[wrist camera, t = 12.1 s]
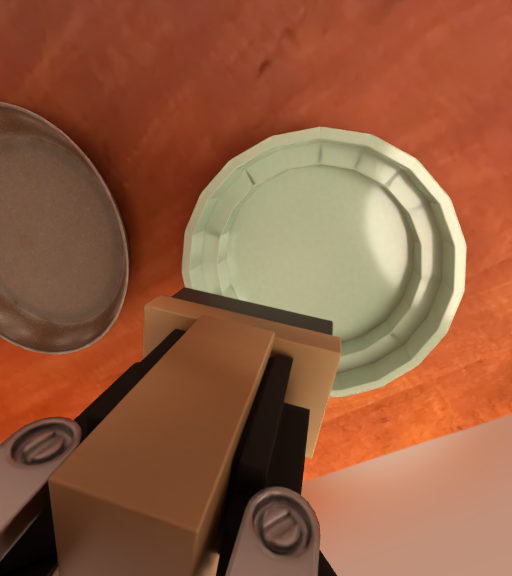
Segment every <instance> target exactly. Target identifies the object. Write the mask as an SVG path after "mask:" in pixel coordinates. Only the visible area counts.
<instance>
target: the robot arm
mask: <svg viewBox="0 0 512 576" xmlns="http://www.w3.org/2000/svg"><path fill="white" fill-rule="evenodd" d="M185 333H186V331H184V330H180V329H174V330H173V331H172V332H171V333H170V334H169V335H168V336H167V337H166V338H165V339H164V340H163V341H162V342H161V343H160V344H159V345H158V346H157V347H156V348H154V349H153V350H152V351H151V352H150V353H149V354H148V355H147V356H146V357H145V358H144V359H143V360H142V361H141V362H137V363H135V364H133V365H132V366H131V367H130V368H129V369H128V370H127V371H126V372H125V373H124V374H122V375H121V376H120V377H119V378H118V379H117V380H116V381H115V382H114V383H113V384H112V385H111V386H110V387H109V388H108V389H107V390H105V391H104V392H103V393H102V394H101V395H100V396H99V397H98V398H97V399H96V400H95V401H94V402H93V403H92V404H91V405H90V406H88V407H87V408H86V409H85V410H84V411H83V412H82V413H81V414H80V415H79V416H78V417H77V418H76V419H75V420H74V421H73V420H71V419H69V418H64V417H48V418H44V419H40V420H36V421H34V422H32V423H29V424H27V425H25V426H23V427H22V428H20V429H19V430H17V431H16V432H14V433H13V434H12V435H11V436H10V437H8V438H7V439H6V440H5V441H4V442H2V443H1V444H0V576H60V574H59V566H58V558H57V549H56V541H55V533H54V525H53V517H52V509H51V501H50V493H49V485H48V479H49V477H50V476H51V474H52V473H53V472H54V471H55V470H56V469H57V468H58V467H59V466H60V465H61V464H62V463H63V462H64V461H65V460H66V459H67V458H68V456H69V455H70V454H71V453H72V452H73V451H74V450H75V449H76V448H77V447H78V446H79V445H80V444H81V443H82V442H83V441H84V440H85V438H86V437H87V436H88V435H89V434H90V433H91V432H92V431H93V430H94V429H95V428H96V427H97V426H98V425H99V424H100V423H101V422H102V420H103V419H104V418H105V417H106V416H107V415H108V414H109V413H110V412H111V411H112V410H113V409H114V408H115V407H116V406H117V405H118V404H119V402H120V401H121V400H122V399H123V398H124V397H125V396H126V395H127V394H128V393H129V392H130V391H131V390H132V389H133V388H134V387H135V386H136V384H137V383H138V382H139V381H140V380H141V379H142V378H143V377H144V376H145V375H146V374H147V373H148V372H149V371H150V370H151V369H152V367H153V366H154V365H155V364H156V363H157V362H158V361H159V360H160V359H161V358H162V357H163V356H164V355H165V354H166V353H167V352H168V351H169V349H170V348H171V347H172V346H173V345H174V344H175V343H176V342H177V341H178V340H179V339H180V338H181V337H182V336H183V335H184V334H185ZM292 363H293V358H291V357H287V356H283V355H279V354H276V355H275V358H271V357H270V358H269V360H268V363H267V366H266V369H265V371H264V374H263V377H262V380H261V383H260V385H259V388H258V391H257V394H256V396H255V399H254V402H253V405H252V407H251V410H250V413H249V416H248V418H247V421H246V424H245V427H244V429H243V432H242V435H241V438H240V441H239V443H238V446H237V449H236V452H235V456H234V459H233V463H232V468H231V473H230V480H229V486H228V492H227V498H226V504H225V510H224V517H223V523H222V529H221V535H220V541H219V547H218V554H219V560H218V566H217V572H216V576H337V575H336V573H335V572H334V571H333V569H332V568H331V566H330V564H329V563H328V561H327V560H326V559H325V557H324V555H323V554H322V553H321V551H320V550H319V548H320V528H319V527H320V526H319V522H318V519H317V516H316V514H315V512H314V510H313V509H312V507H311V506H310V504H309V503H308V501H306V500H305V499H304V498H303V497H302V496H301V489H302V480H303V471H304V462H305V453H306V444H307V435H308V426H309V417H310V409H306V408H303V407H299V406H296V405H292V404H288V403H285V402H284V399H285V395H286V390H287V386H288V381H289V377H290V372H291V368H292Z"/></svg>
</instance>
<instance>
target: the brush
mask: <svg viewBox="0 0 512 576" xmlns="http://www.w3.org/2000/svg"><path fill="white" fill-rule="evenodd" d="M174 329H180V330H184V331H186V333H185V334H184V335H183V336H182V337H181V338H180V339H179V340H178V341H177V342H176V343H175V344H174V345H173V346H172V347H171V348H170V349H169V351H168V352H167V353H166V354H165V355H164V356H163V357H162V358H161V359H160V360H159V361H158V362H157V363H156V364H155V365H154V366H153V367H152V369H151V370H150V371H149V372H148V373H147V374H146V375H145V376H144V377H143V378H142V379H141V380H140V381H139V382H138V383H137V384H136V386H135V387H134V388H133V389H132V390H131V391H130V392H129V393H128V394H127V395H126V396H125V397H124V398H123V399H122V400H121V401H120V402H119V404H118V405H117V406H116V407H115V408H114V409H113V410H112V411H111V412H110V413H109V414H108V415H107V416H106V417H105V418H104V419H103V420H102V422H101V423H100V424H99V425H98V426H97V427H96V428H95V429H94V430H93V431H92V432H91V433H90V434H89V435H88V436H87V437H86V438H85V440H84V441H83V442H82V443H81V444H80V445H79V446H78V447H77V448H76V449H75V450H74V451H73V452H72V453H71V454H70V455H69V456H68V458H67V459H66V460H65V461H64V462H63V463H62V464H61V465H60V466H59V467H58V468H57V469H56V470H55V471H54V472H53V473H52V474H51V476H50V477H49V479H48V485H49V493H50V501H51V509H52V517H53V525H54V533H55V541H56V549H57V558H58V566H59V574H60V576H215V573H216V570H217V566H218V560H219V554H218V547H219V541H220V535H221V529H222V523H223V517H224V510H225V504H226V498H227V492H228V486H229V480H230V473H231V468H232V463H233V459H234V456H235V452H236V449H237V446H238V443H239V441H240V438H241V435H242V432H243V429H244V427H245V424H246V421H247V418H248V416H249V413H250V410H251V407H252V405H253V402H254V399H255V396H256V394H257V391H258V388H259V385H260V383H261V380H262V377H263V374H264V371H265V369H266V366H267V363H268V360H269V358H270V357H271V358H275V355H276V354H279V355H283V356H287V357H291V358H293V363H292V368H291V372H290V377H289V381H288V386H287V390H286V395H285V399H284V402H285V403H288V404H292V405H296V406H299V407H303V408H306V409H310V417H309V426H308V435H307V444H306V453H305V457H306V458H309V459H311V458H312V457H313V453H314V450H315V446H316V443H317V439H318V435H319V432H320V428H321V425H322V421H323V418H324V414H325V411H326V407H327V403H328V400H329V396H330V393H331V389H332V386H333V382H334V379H335V375H336V371H337V368H338V364H339V361H340V357H341V338H340V337H336V336H333V322H332V321H330V320H325V319H321V318H317V317H312V316H308V315H304V314H299V313H295V312H291V311H286V310H282V309H278V308H273V307H269V306H265V305H260V304H256V303H252V302H247V301H243V300H238V299H234V298H230V297H225V296H221V295H217V294H212V293H208V292H204V291H199V290H195V289H191V288H186V287H184V288H183V289H181V290H180V291H179V292H177V293H176V294H175V295H173V296H172V297H168V296H164V295H159V296H157V297H156V298H154V299H153V300H152V301H150V302H149V303H147V304H146V305H145V306H144V341H143V359H144V358H145V357H146V356H147V355H148V354H149V353H150V352H151V351H152V350H153V349H154V348H156V347H157V346H158V345H159V344H160V343H161V342H162V341H163V340H164V339H165V338H166V337H167V336H168V335H169V334H170V333H171V332H172V331H173V330H174Z"/></svg>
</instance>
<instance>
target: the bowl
mask: <svg viewBox="0 0 512 576" xmlns="http://www.w3.org/2000/svg"><path fill="white" fill-rule="evenodd" d="M465 269H466V242H465V239H464V236H463V233H462V230H461V227H460V224H459V221H458V218H457V215H456V212H455V209H454V207H453V204H452V201H451V199H450V197H449V196H448V194H447V193H446V192H445V191H444V190H443V189H442V187H441V186H440V185H439V184H438V183H437V182H436V180H435V179H434V178H433V177H432V176H431V174H430V173H429V172H428V171H427V170H426V169H425V167H424V166H423V165H422V164H421V163H420V162H419V160H417V159H416V158H415V157H413V156H411V155H409V154H407V153H406V152H404V151H402V150H400V149H398V148H396V147H395V146H393V145H391V144H389V143H387V142H385V141H384V140H382V139H380V138H378V137H376V136H374V135H373V134H372V135H371V134H368V133H362V132H355V131H348V130H341V129H335V128H328V127H314V128H309V129H304V130H299V131H294V132H289V133H284V134H278V135H273V136H271V137H268V138H267V139H265V140H263V141H261V142H260V143H258V144H256V145H254V146H253V147H251V148H249V149H248V150H246V151H244V152H242V153H241V154H239V155H237V156H236V157H234V158H232V159H231V160H229V161H228V162H227V164H226V165H225V166H224V167H223V168H222V169H221V170H220V172H219V173H218V174H217V175H216V176H215V177H214V179H213V180H212V181H211V182H210V183H209V184H208V185H207V187H206V188H205V189H204V190H203V191H202V192H201V194H200V196H199V198H198V201H197V203H196V206H195V208H194V210H193V213H192V215H191V218H190V220H189V222H188V225H187V227H186V230H185V234H184V246H183V258H182V276H183V281H184V285H185V287H186V288H191V289H195V290H199V291H204V292H208V293H212V294H217V295H221V296H225V297H230V298H234V299H238V300H243V301H247V302H252V303H256V304H260V305H265V306H269V307H273V308H278V309H282V310H286V311H291V312H295V313H299V314H304V315H308V316H312V317H317V318H321V319H325V320H330V321H332V322H333V336H336V337H340V338H341V357H340V361H339V364H338V368H337V371H336V375H335V379H334V382H333V386H332V389H331V393H330V396H329V397H345V396H349V395H353V394H357V393H361V392H365V391H368V390H372V389H376V388H380V387H383V386H384V385H386V384H388V383H389V382H391V381H393V380H395V379H396V378H398V377H400V376H401V375H403V374H405V373H406V372H408V371H410V370H411V369H413V368H415V367H417V365H419V364H420V363H421V362H422V360H423V359H424V358H425V357H426V356H427V355H428V354H429V353H430V352H431V350H432V349H433V348H434V347H435V346H436V345H437V344H438V343H439V341H440V340H441V339H442V338H443V337H444V336H445V335H446V333H447V332H448V329H449V327H450V325H451V322H452V320H453V318H454V315H455V313H456V310H457V308H458V306H459V303H460V301H461V299H462V296H463V294H464V291H465Z"/></svg>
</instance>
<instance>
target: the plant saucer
mask: <svg viewBox="0 0 512 576" xmlns="http://www.w3.org/2000/svg"><path fill="white" fill-rule="evenodd" d="M129 273H130V253H129V244H128V237H127V233H126V229H125V225H124V222H123V219H122V216H121V213H120V210H119V208H118V205H117V203H116V201H115V198H114V196H113V194H112V192H111V191H110V189H109V187H108V185H107V184H106V182H105V180H104V179H103V177H102V176H101V174H100V172H99V171H98V170H97V168H96V167H95V166H94V164H93V163H92V162H91V160H90V159H89V158H88V157H87V156H86V154H85V153H84V152H83V151H82V150H81V149H80V148H79V147H78V146H77V145H76V144H75V143H74V142H73V141H72V140H71V139H70V138H69V137H68V136H67V135H66V134H64V133H63V132H62V131H61V130H60V129H58V128H57V127H56V126H55V125H53V124H52V123H50V122H49V121H47V120H46V119H44V118H42V117H41V116H39V115H37V114H35V113H33V112H31V111H29V110H27V109H24V108H22V107H19V106H15V105H12V104H8V103H3V102H0V337H1V338H3V339H5V340H6V341H8V342H10V343H12V344H14V345H16V346H19V347H22V348H25V349H28V350H30V351H34V352H39V353H46V354H67V353H72V352H76V351H79V350H82V349H84V348H87V347H89V346H91V345H92V344H94V343H95V342H97V341H98V340H99V339H101V338H102V337H103V336H104V335H105V334H106V333H107V332H108V331H109V329H110V328H111V327H112V325H113V324H114V322H115V321H116V319H117V317H118V315H119V313H120V311H121V309H122V306H123V303H124V299H125V296H126V292H127V288H128V282H129Z"/></svg>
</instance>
